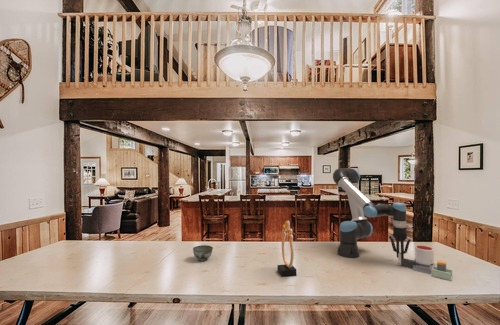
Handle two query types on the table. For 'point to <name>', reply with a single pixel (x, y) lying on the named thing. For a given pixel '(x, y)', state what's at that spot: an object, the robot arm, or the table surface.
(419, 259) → the cup
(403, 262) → the charcoal brick
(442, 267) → the orange tall block
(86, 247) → the table surface
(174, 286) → the table surface
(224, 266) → the table surface
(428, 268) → the clip
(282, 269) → the loop sculpture
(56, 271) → the table surface
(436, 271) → the end holder
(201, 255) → the bowl
